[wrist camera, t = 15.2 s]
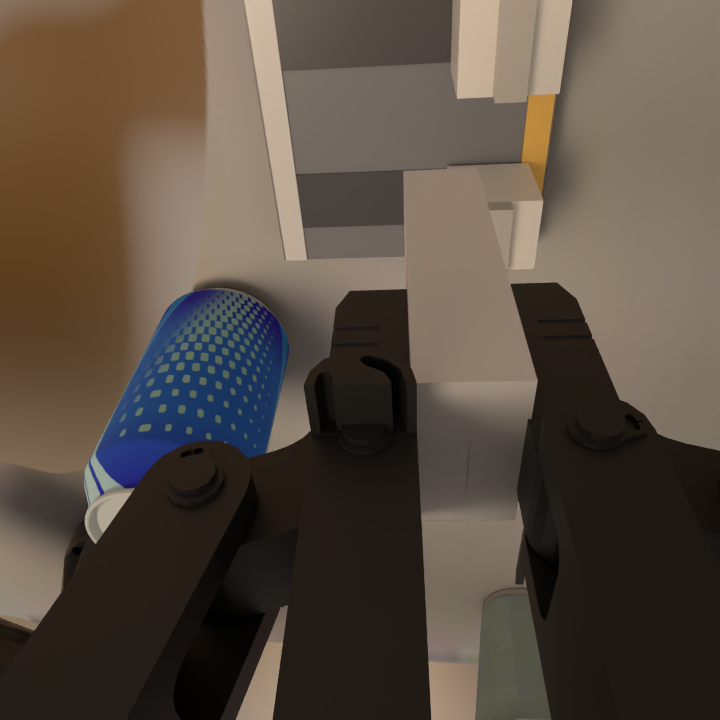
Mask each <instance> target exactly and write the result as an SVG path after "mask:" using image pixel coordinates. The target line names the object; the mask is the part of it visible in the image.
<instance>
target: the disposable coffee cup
mask: <svg viewBox="0 0 720 720" xmlns="http://www.w3.org/2000/svg"><path fill="white" fill-rule="evenodd" d="M475 720H551V716H550V710H549V705H548V699H547V694H546V688H545V683H544V678H543V672H542V667H541V661H540V656H539V650H538V645H537V640H536V634H535V629H534V623H533V618H532V612H531V607H530V602H529V596H528V591H527V589H505V590H502V591H498V592H495V593H493V594H492V595H490V596H489V597H488V598H487V599H486V600H485V604H484V606H483V607H482V620H481V636H480V652H479V669H478V684H477V700H476V715H475Z"/></svg>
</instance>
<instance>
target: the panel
mask: <svg viewBox="0 0 720 720" xmlns="http://www.w3.org/2000/svg"><path fill="white" fill-rule="evenodd" d="M452 4H453V0H243V6H244V12H245V18H246V24H247V30H248V37H249V43H250V49H251V55H252V61H253V67H254V73H255V80H256V86H257V92H258V98H259V104H260V110H261V116H262V123H263V129H264V135H265V141H266V147H267V153H268V159H269V166H270V172H271V178H272V184H273V190H274V196H275V202H276V209H277V215H278V221H279V227H280V233H281V239H282V245H283V252H284V258H285V260H286V261H291V260H307V259H325V258H361V257H397V256H405V236H404V180H403V171H415V170H437V169H460V168H478V172H479V175H480V179H481V182H482V186H483V189H484V193H485V197H486V200H487V204H488V207H489V211H490V214H491V218H492V221H493V225H494V228H495V232H496V235H497V239H498V242H499V246H500V250H501V253H502V257H503V260H504V264H505V267H506V271H507V270H511V269H534V265H535V258H536V251H537V244H538V236H539V229H540V222H541V215H542V208H543V192H544V185H545V178H546V171H547V163H548V156H549V149H550V142H551V134H552V127H553V120H554V113H555V105H556V98H557V94H545V95H527V101H526V102H516V103H494V100H493V97H483V98H462V99H457V97H456V92H455V88H454V83H453V79H452V74H451V37H452Z"/></svg>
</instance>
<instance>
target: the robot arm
mask: <svg viewBox="0 0 720 720" xmlns="http://www.w3.org/2000/svg"><path fill="white" fill-rule="evenodd" d="M403 180H404V236H405V289H399V290H367V291H349V293H348V294H347V295H346V296H345V298H344V299H343V300H342V301H341V303H340V304H339V305H338V306H337V307H336V311H335V319H334V327H333V328H334V332H333V335H332V343H331V344H332V348H331V351H330V357H329V358H326V359H324V360H322V361H321V362H320V363H319V364H318V365H317V366H315V367H314V368H313V369H312V370H311V371H310V372H309V375H308V377H307V379H306V381H305V383H304V391H305V397H306V404H307V410H308V416H309V422H310V428H311V431H310V432H309V433H308V434H307V435H306V436H305V437H304V438H302V439H300V440H299V441H297V442H295V443H294V444H292V445H290V446H287V447H285V448H282V449H279V450H276V451H273V452H269V453H266V454H262V455H258V456H255V457H251V458H247V457H246V456H245V455H244V454H243V453H242V452H241V451H240V450H239V449H238V448H237V447H235V446H232V445H230V444H227V443H224V442H222V441H197V442H193V443H190V444H186V445H182V446H179V447H177V448H176V449H174V450H172V451H170V452H169V453H167V454H165V455H163V456H162V457H160V458H159V459H158V460H157V462H156V463H155V464H154V465H153V466H152V467H151V468H150V469H149V470H148V471H147V472H146V473H145V475H144V476H143V477H142V479H141V480H140V482H139V483H138V485H137V486H136V487H135V489H134V490H133V492H132V493H131V495H130V496H129V497H128V499H127V500H126V502H125V503H124V504H123V506H122V507H121V509H120V510H119V512H118V513H117V514H116V516H115V517H114V519H113V520H112V521H111V523H110V524H109V526H108V527H107V529H106V530H105V531H104V533H103V534H102V536H101V537H100V539H99V540H98V541H97V543H96V544H95V543H94V542H93V540H92V539H91V538H90V536H89V534H88V532H87V530H86V527H85V520H84V521H83V522H82V523H81V524H80V525H79V526H78V527H77V529H76V531H75V533H74V535H73V537H72V539H71V541H70V543H69V545H68V548H67V550H66V554H65V560H64V569H63V579H62V589H61V594H60V595H59V597H58V598H57V600H56V601H55V602H54V604H53V605H52V607H51V608H50V609H49V611H48V612H47V614H46V615H45V617H44V618H43V619H42V621H41V622H40V624H39V625H38V627H37V628H36V629H35V631H33V630H31V629H28V628H25V627H23V626H20V625H18V624H15V623H12V622H10V621H7V620H5V619H2V618H0V720H236V717H237V714H238V712H239V710H240V707H241V705H242V702H243V699H244V697H245V695H246V692H247V690H248V687H249V685H250V682H251V680H252V677H253V675H254V672H255V670H256V667H257V665H258V662H259V660H260V657H261V655H262V652H263V650H264V647H265V645H266V643H267V640H268V638H269V635H270V633H271V630H272V628H273V625H274V623H275V620H276V618H277V615H278V613H279V610H280V607H283V606H286V605H288V611H287V618H286V625H285V633H284V640H283V648H282V655H281V662H280V669H279V678H278V684H277V691H276V699H275V706H274V713H273V720H431V706H430V686H429V667H428V666H429V665H428V645H427V625H426V604H425V584H424V564H423V543H422V523H421V520H515V518H516V511H517V505H518V500H519V505H520V510H521V515H522V520H523V525H524V529H523V534H522V540H521V545H520V551H519V557H518V562H517V568H516V582H515V584H523V583H524V578H525V580H526V585H527V591H528V596H529V602H530V607H531V612H532V618H533V623H534V629H535V634H536V640H537V645H538V650H539V656H540V661H541V667H542V672H543V678H544V683H545V688H546V694H547V699H548V705H549V710H550V716H551V720H720V451H718V450H713V449H709V448H704V447H699V446H695V445H690V444H686V443H682V442H679V441H675V440H672V439H668V438H666V437H664V436H661V435H659V434H657V432H656V430H655V428H654V427H653V426H652V424H651V423H650V422H649V420H648V419H647V418H646V416H645V415H644V414H643V413H641V412H640V411H638V410H637V409H635V408H634V407H633V406H631V405H630V404H628V403H627V402H624V401H621V400H619V397H618V395H617V393H616V390H615V388H614V386H613V383H612V381H611V379H610V376H609V374H608V372H607V369H606V367H605V364H604V362H603V360H602V357H601V355H600V353H599V350H598V348H597V346H596V343H595V341H594V339H592V334H591V332H590V329H589V327H588V325H587V323H585V318H584V315H583V313H582V310H581V308H580V306H579V303H578V301H577V299H576V298H575V297H574V296H572V295H571V294H570V293H569V292H568V291H566V290H565V289H564V288H563V287H562V286H560V285H559V284H558V283H526V284H510V281H509V278H508V274H507V271H506V267H505V264H504V260H503V257H502V253H501V250H500V246H499V242H498V239H497V235H496V232H495V228H494V225H493V221H492V218H491V214H490V211H489V207H488V204H487V200H486V197H485V193H484V189H483V186H482V182H481V179H480V175H479V172H478V168H460V169H437V170H415V171H403Z"/></svg>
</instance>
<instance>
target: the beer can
mask: <svg viewBox="0 0 720 720" xmlns="http://www.w3.org/2000/svg"><path fill="white" fill-rule="evenodd" d="M288 355H289V343H288V338H287V335H286V332H285V330H284V328H283V326H282V324H281V323H280V321H279V320H278V319H277V317H276V316H275V315H274V314H273V313H272V312H271V311H270V310H269V308H268V307H267V306H266V305H264V304H263V303H262V302H261V301H259V300H258V299H256V298H255V297H253V296H251V295H249V294H247V293H245V292H242V291H239V290H235V289H229V288H210V289H202V290H197V291H193V292H190V293H188V294H185V295H183V296H181V297H180V298H178V299H177V300H176V301H174V302H173V303H172V304H171V305H170V306H169V308H168V309H167V310H166V312H165V313H164V315H163V317H162V319H161V321H160V323H159V325H158V327H157V329H156V331H155V333H154V335H153V337H152V339H151V340H150V343H149V345H148V346H147V348H146V350H145V352H144V354H143V356H142V358H141V360H140V362H139V364H138V366H137V368H136V370H135V372H134V374H133V376H132V377H131V379H130V381H129V384H128V386H127V387H126V389H125V391H124V393H123V395H122V397H121V399H120V401H119V403H118V405H117V407H116V409H115V411H114V413H113V415H112V416H111V419H110V420H109V422H108V424H107V426H106V428H105V430H104V432H103V434H102V436H101V438H100V440H99V442H98V444H97V446H96V448H95V450H94V452H93V454H92V456H91V458H90V459H89V462H88V464H87V466H86V469H85V473H84V488H85V492H86V497H87V501H88V506H89V508H88V510H87V512H86V515H85V527H86V530H87V532H88V534H89V536H90V538H91V539H92V540H93V542H94V543H95V544H96V543H97V541H98V540H99V539H100V537H101V536H102V534H103V533H104V531H105V530H106V529H107V527H108V526H109V524H110V523H111V521H112V520H113V519H114V517H115V516H116V514H117V513H118V512H119V510H120V509H121V507H122V506H123V504H124V503H125V502H126V500H127V499H128V497H129V496H130V495H131V493H132V492H133V490H134V489H135V487H136V486H137V485H138V483H139V482H140V480H141V479H142V477H143V476H144V475H145V473H146V472H147V471H148V470H149V469H150V468H151V467H152V466H153V465H154V464H155V463H156V462H157V460H158V459H159V458H160V457H162V456H163V455H165V454H167V453H169V452H170V451H172V450H174V449H176V448H177V447H179V446H182V445H186V444H190V443H193V442H197V441H222V442H224V443H227V444H230V445H232V446H235V447H237V448H238V449H239V450H240V451H241V452H242V453H243V454H244V455H245V456H246V457H247V458H251V457H255V456H258V455H262V454H266V453H267V449H268V444H269V440H270V435H271V431H272V426H273V422H274V418H275V413H276V409H277V404H278V400H279V395H280V391H281V386H282V382H283V378H284V373H285V369H286V364H287V360H288Z"/></svg>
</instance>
